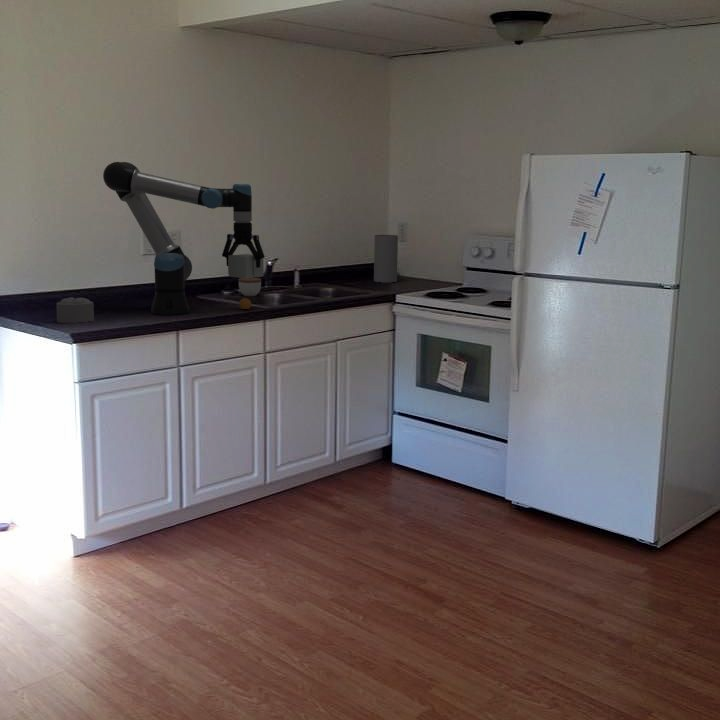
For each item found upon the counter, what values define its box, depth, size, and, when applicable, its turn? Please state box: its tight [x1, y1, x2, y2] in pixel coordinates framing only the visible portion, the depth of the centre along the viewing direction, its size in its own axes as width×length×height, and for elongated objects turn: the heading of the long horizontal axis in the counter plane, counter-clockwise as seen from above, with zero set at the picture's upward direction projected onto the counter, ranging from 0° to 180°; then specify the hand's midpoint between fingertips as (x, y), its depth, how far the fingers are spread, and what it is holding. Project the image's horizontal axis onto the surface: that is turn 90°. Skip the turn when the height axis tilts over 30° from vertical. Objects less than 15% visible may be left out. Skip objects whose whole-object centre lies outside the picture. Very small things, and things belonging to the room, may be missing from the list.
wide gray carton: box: [228, 253, 265, 279], centre depth 376 cm, size 10×10×9 cm
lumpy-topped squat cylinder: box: [55, 296, 95, 324], centre depth 339 cm, size 10×13×9 cm
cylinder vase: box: [373, 234, 399, 284], centre depth 486 cm, size 12×12×25 cm
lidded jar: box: [237, 277, 262, 297], centre depth 422 cm, size 11×11×9 cm
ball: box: [238, 297, 252, 310], centre depth 375 cm, size 5×5×5 cm
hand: (243, 274), depth 375 cm, fingers closed on wide gray carton, 11 cm apart
